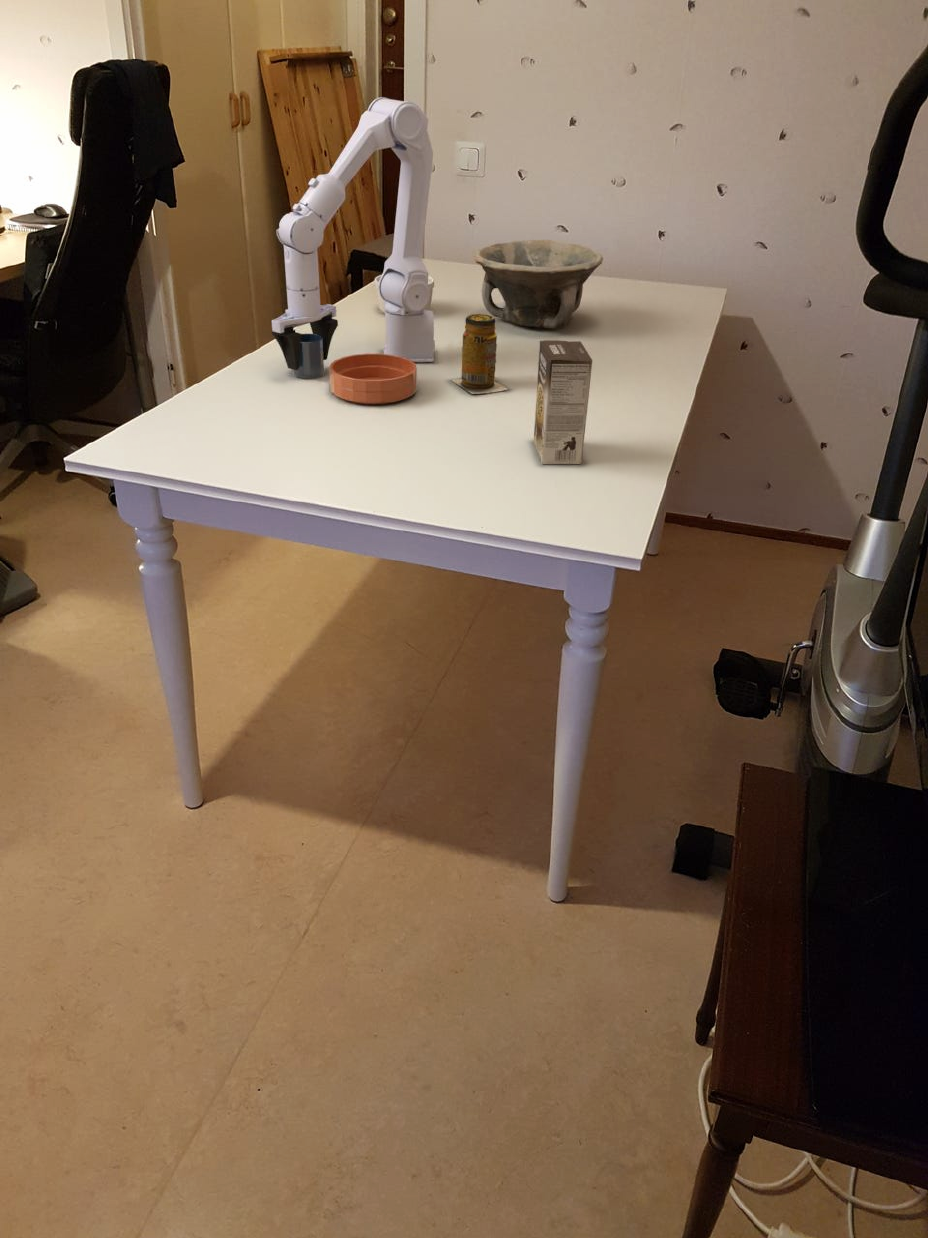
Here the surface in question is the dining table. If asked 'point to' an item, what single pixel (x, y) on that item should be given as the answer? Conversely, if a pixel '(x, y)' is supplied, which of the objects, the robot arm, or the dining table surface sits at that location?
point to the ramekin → (382, 303)
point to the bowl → (536, 280)
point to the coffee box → (561, 401)
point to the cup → (310, 357)
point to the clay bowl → (373, 378)
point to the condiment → (479, 355)
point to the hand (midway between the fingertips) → (307, 363)
